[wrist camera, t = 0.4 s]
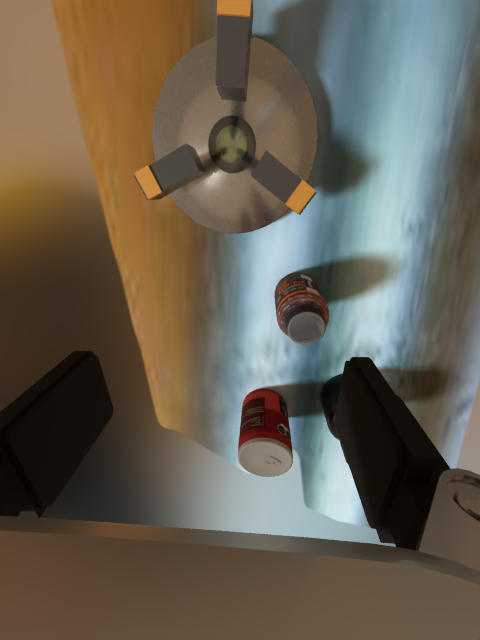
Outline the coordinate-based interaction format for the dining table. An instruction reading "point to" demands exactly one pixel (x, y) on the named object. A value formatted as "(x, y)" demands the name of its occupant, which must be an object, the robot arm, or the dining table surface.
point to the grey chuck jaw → (233, 48)
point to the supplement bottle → (301, 309)
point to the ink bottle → (331, 404)
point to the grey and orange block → (170, 173)
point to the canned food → (265, 434)
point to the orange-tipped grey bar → (283, 183)
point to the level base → (260, 111)
